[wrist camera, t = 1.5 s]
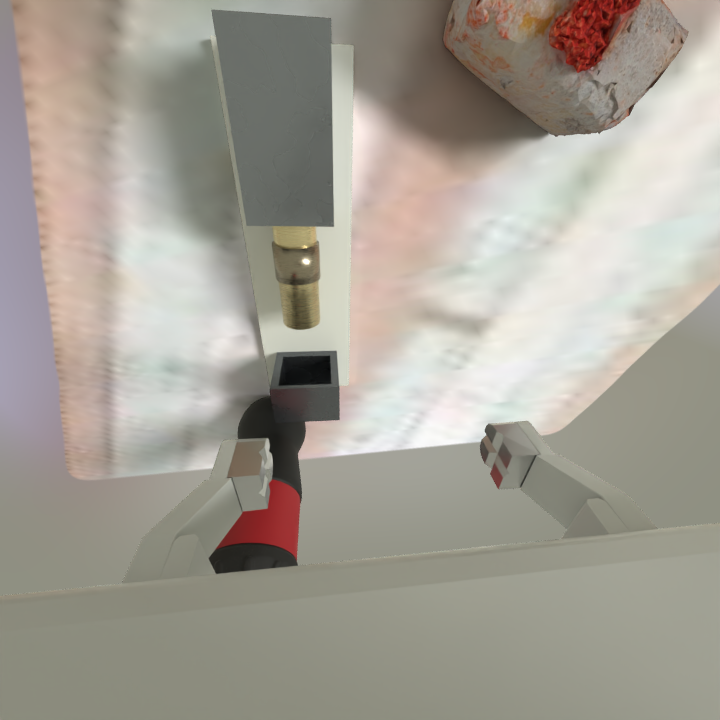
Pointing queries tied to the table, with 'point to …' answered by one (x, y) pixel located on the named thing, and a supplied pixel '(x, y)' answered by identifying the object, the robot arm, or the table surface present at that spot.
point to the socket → (305, 386)
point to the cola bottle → (281, 520)
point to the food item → (566, 55)
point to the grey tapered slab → (280, 114)
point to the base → (331, 239)
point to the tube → (297, 274)
